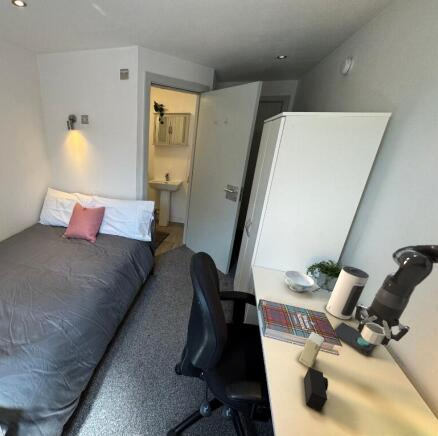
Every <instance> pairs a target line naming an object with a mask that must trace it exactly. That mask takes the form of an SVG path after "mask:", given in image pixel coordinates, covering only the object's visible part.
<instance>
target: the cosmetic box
mask: <svg viewBox="0 0 438 436" xmlns="http://www.w3.org/2000/svg"><path fill="white" fill-rule="evenodd" d="M324 340H325V338H324V337H323V336H321V335H320V334H318V333H316V332H315V331H311V333H310V335H309V336H308V337H307V339H306V341H305V345H304V347H303V349H302V352H301V354H300V357H299V359H298V361H299V362H300V363H301V364H303V365H304V366H306V367H308V368H309V367H311V368H313V365H314V363H315V361H316V359H317V357H318V355H319V352H320V350H321V348H322V345H323V343H324Z"/></svg>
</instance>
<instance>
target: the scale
mask: <svg viewBox="0 0 438 436" xmlns="http://www.w3.org/2000/svg"><path fill="white" fill-rule="evenodd" d="M333 331H334V332H335V333H336V335H337V337H338V338H337V337H336V338H337V339H339V340H340V341H342V342H343V343H345V344H346V345H348V346H350V347H351V348H353V349H354V350H355V351H358V352H360V353H361V354H363V355H364V356H366V357H367V356H368V355H369V354H370V353H371V352H372V350H373V348H374V347H375V346H376V345H375V344H372V343H369V345H368V347H363V346H361V345H360V344H358V343H357V340H358V338H363V337H362V335H361V333H360V332H358V331H359V330H357V328H354V327H352V326H351V325H350V324H349V325H348V324H347V323H345V322H344V321H342V322H341V323H340V324H339V325H338V326H336V328H334V330H333ZM363 339H364V338H363Z"/></svg>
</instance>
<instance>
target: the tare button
mask: <svg viewBox="0 0 438 436" xmlns="http://www.w3.org/2000/svg"><path fill="white" fill-rule="evenodd" d="M357 343H358V344H360V345H361V346H363V347H368V345H369V342H368V341H366V340H365V339H363V338H358V340H357Z"/></svg>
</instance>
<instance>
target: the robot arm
mask: <svg viewBox="0 0 438 436" xmlns="http://www.w3.org/2000/svg"><path fill="white" fill-rule="evenodd" d="M391 257H392V260H393V261H394V263H396V265H398V268H397V270H396V271H391V272H389V273H387V275H386V276H385V278H384V280H383V281H382V284H381V286H380V287H379V288H378V290H377V292H376V293H375V295H374V298H373V300H372V302H371V303H370V305H369V306H368V307H367V306H366V305H365V306H364V305H363V304H362V303H359V304H357V305H356V307H355V314H354V320H355V321H357V322H359V324H358V325H357V328H356V330H358V332H360V333H361V331H362V329H363V327H364V325H365V324H366V323H373V324H376V325H378V326H380V327H381V328H383V329H384V331H385V333H386V336H385V337H384V339H383V341H382V343H381V344H380V345H382V346H384V345H385V346H388V344H389V343H390V341H391V340H394V341H395V342H400V340H402V339H403V337H404V336H406V335H407V334H408V332H409V331H410V329H411V328H410V326H408V325H404V324H402V323H400V318H401V317H402V315H403V313H404V311H405V310H406V309H407V306H408V304H409V302H410V299H411V297H412V295H413V293H414V291H415V290H416V287H417V286H419V285H421V283H422V282H424V281H425V280H427V278H428V277H429V276H430V275H431V273H433V269H434V264H438V244H411V245H405V246H401V247H398V248H397V249H395V250H394V251H393V252H392V255H391ZM365 311H366V313H367V315H368V316H366V317H364V318H363V317H362V313H364V312H365ZM393 327H398V332H397V333H396V334H395V333H393Z"/></svg>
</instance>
